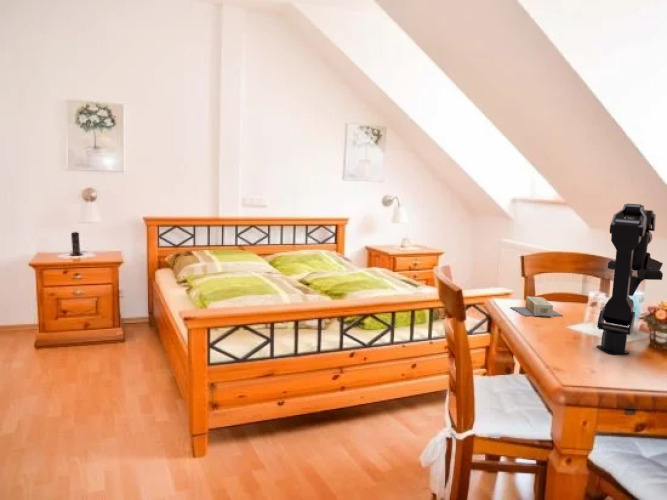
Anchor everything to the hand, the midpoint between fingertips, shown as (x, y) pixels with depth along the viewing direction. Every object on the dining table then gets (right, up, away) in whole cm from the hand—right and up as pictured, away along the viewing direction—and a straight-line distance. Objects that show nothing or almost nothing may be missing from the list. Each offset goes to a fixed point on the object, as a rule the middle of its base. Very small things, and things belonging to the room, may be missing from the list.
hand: (630, 295), depth 173 cm
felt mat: (-21, -8, +25) cm, 34 cm away
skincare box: (-21, -7, +17) cm, 28 cm away
